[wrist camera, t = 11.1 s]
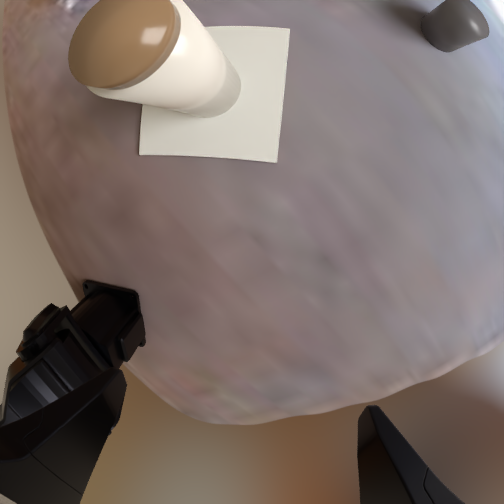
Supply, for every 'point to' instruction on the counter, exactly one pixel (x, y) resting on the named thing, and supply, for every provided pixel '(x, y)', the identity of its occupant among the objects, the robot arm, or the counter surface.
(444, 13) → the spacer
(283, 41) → the mat
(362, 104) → the counter surface
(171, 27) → the jar
